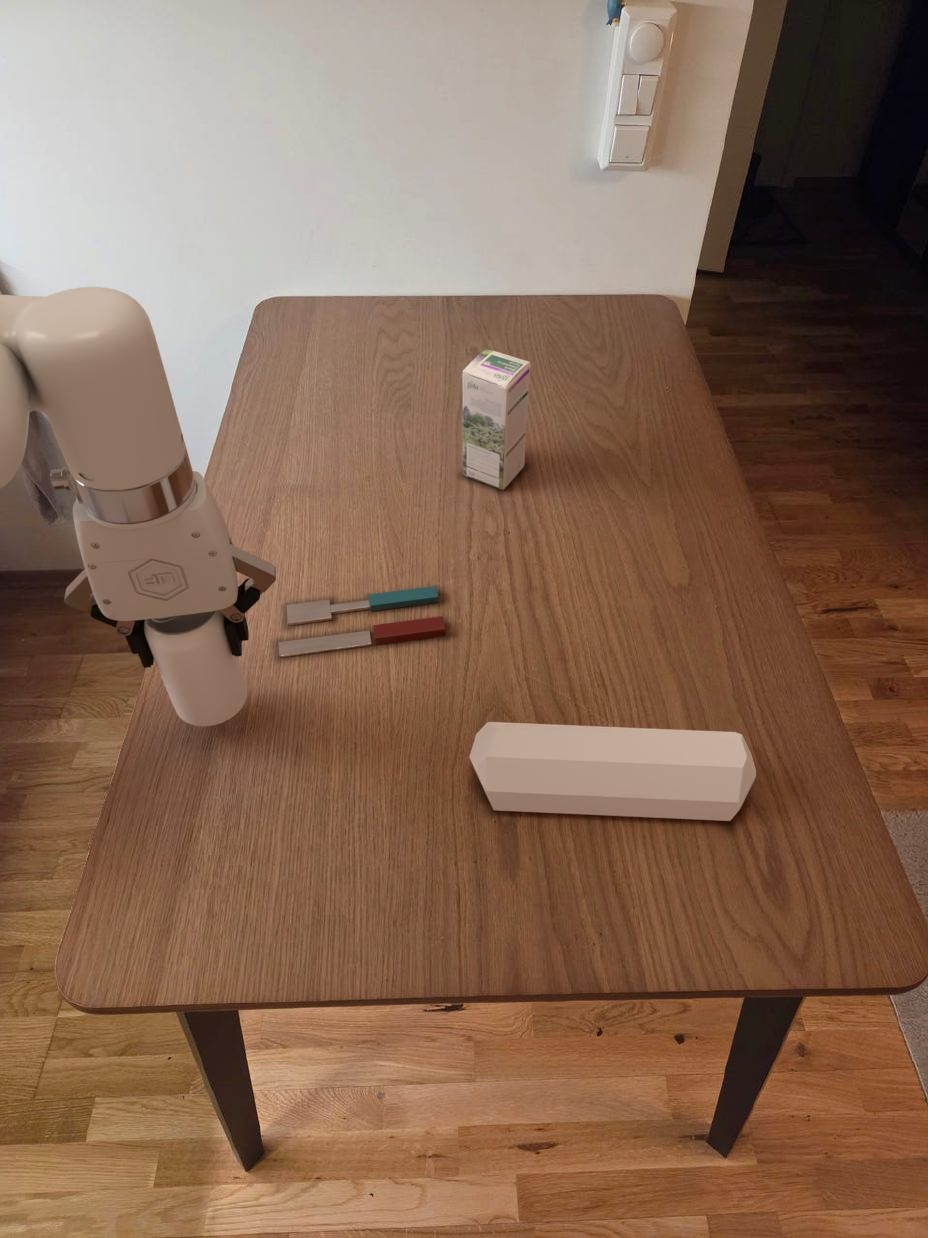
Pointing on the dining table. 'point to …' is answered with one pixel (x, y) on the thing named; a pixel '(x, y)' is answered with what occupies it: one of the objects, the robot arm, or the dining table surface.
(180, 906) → the dining table surface
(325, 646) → the knife
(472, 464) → the syrup box
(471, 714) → the dining table surface
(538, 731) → the crystal
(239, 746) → the dining table surface
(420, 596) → the teal handled spatula
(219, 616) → the can
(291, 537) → the dining table surface
